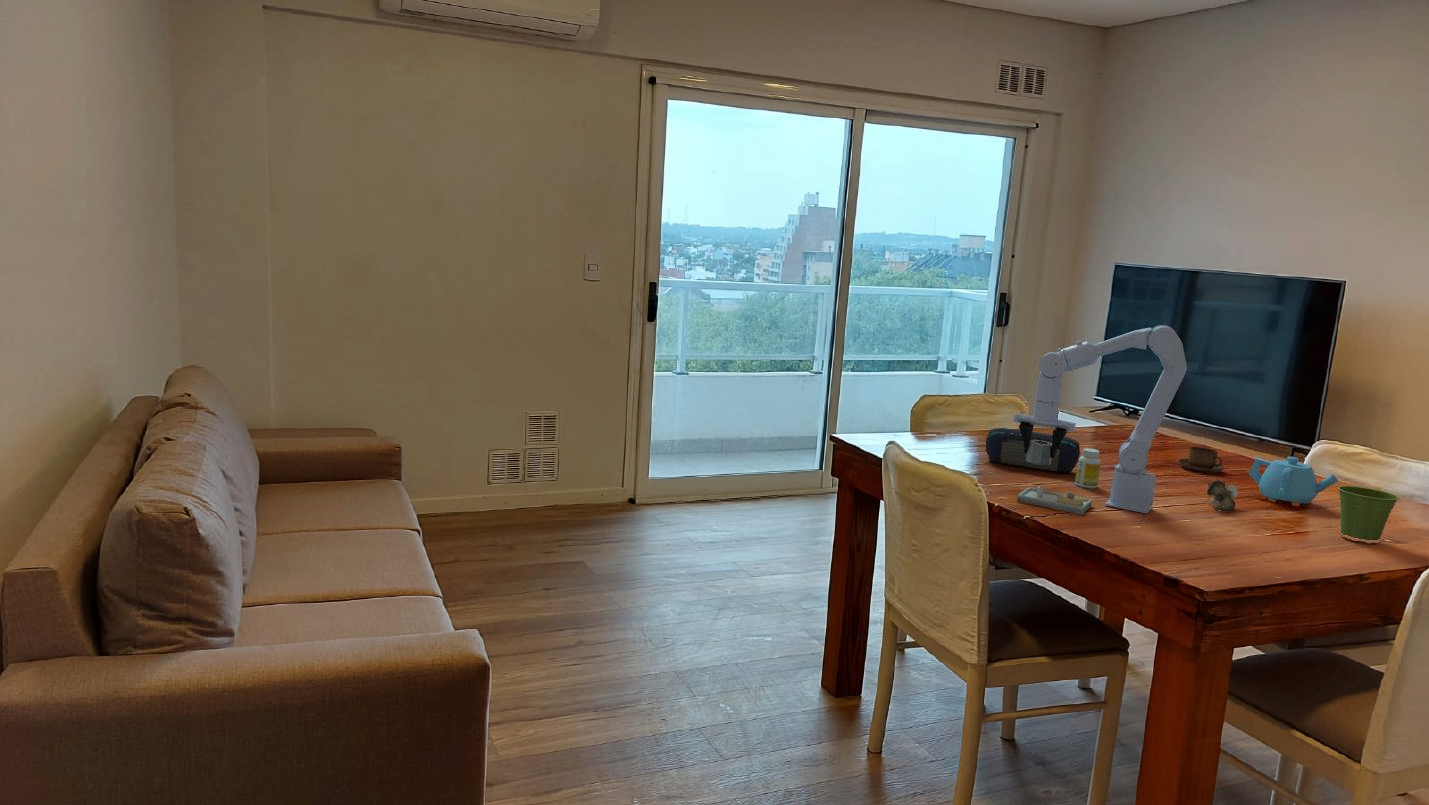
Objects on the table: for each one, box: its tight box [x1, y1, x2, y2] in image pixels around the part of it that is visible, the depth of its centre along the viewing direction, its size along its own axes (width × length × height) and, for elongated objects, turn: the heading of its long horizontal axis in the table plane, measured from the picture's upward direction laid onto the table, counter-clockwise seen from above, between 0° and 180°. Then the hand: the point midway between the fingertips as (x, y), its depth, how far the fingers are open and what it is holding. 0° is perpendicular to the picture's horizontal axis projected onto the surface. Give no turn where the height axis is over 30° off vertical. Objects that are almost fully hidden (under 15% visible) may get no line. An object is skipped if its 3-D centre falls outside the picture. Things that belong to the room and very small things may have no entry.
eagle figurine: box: [1206, 479, 1239, 512], centre depth 241 cm, size 8×8×10 cm
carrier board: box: [1016, 486, 1093, 516], centre depth 232 cm, size 15×10×3 cm, turn 58°
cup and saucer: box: [1178, 446, 1225, 474], centre depth 284 cm, size 12×12×6 cm
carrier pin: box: [1036, 485, 1044, 498], centre depth 234 cm, size 1×1×4 cm
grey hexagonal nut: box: [1026, 440, 1052, 465], centre depth 241 cm, size 6×6×5 cm
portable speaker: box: [985, 427, 1081, 474], centre depth 270 cm, size 25×10×10 cm, turn 67°
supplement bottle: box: [1074, 447, 1102, 489], centre depth 252 cm, size 5×5×10 cm
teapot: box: [1247, 456, 1339, 504], centre depth 252 cm, size 20×17×12 cm
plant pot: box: [1336, 485, 1401, 540], centre depth 221 cm, size 12×12×11 cm
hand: (1039, 455), depth 241 cm, fingers closed on grey hexagonal nut, 6 cm apart
